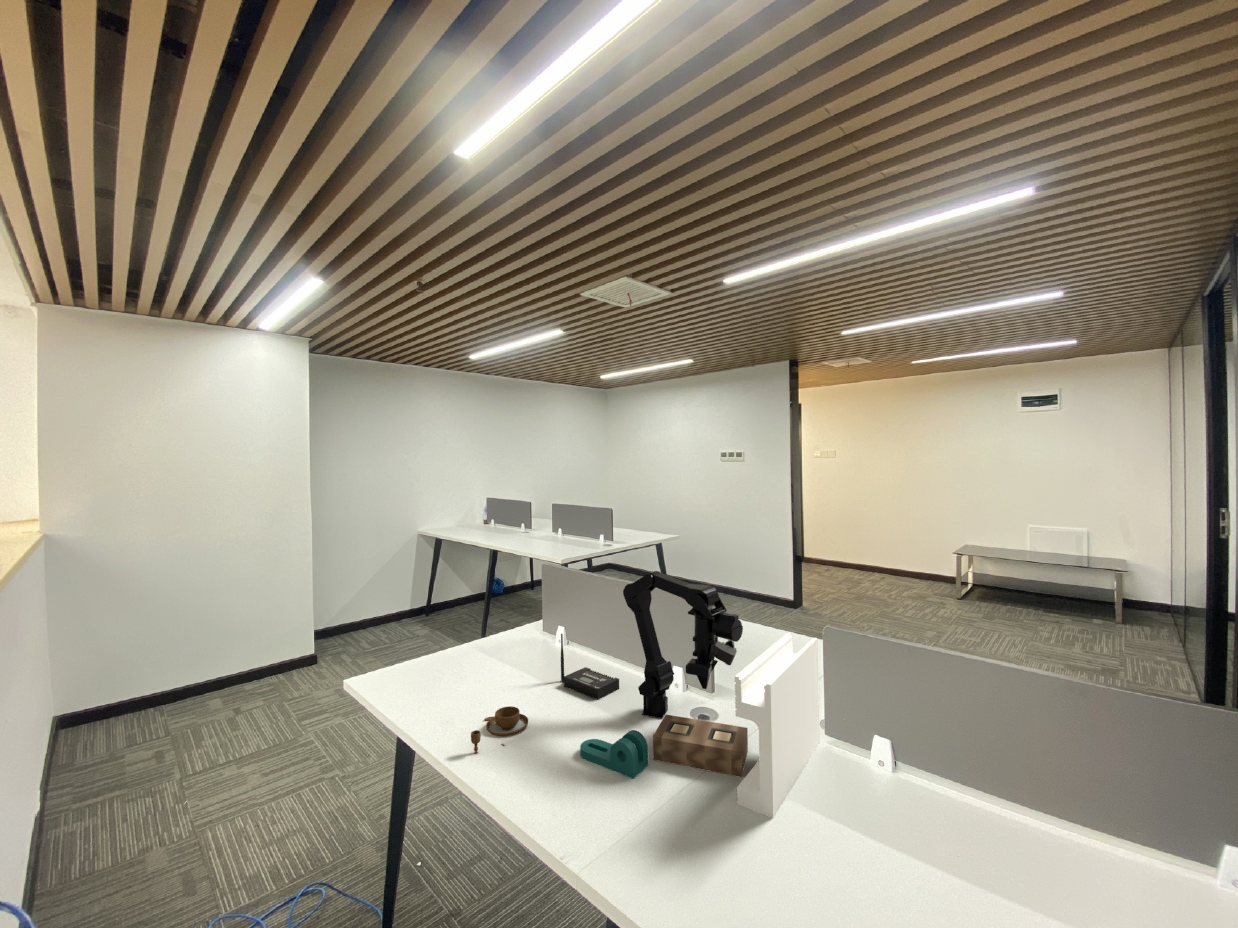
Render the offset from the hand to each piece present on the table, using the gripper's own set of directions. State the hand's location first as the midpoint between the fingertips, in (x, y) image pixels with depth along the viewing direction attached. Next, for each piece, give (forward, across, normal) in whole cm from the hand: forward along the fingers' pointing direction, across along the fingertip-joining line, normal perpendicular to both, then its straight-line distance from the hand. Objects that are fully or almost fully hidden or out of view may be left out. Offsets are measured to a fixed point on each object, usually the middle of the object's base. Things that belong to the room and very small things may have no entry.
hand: (704, 688), depth 142 cm
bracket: (+13, -22, +19) cm, 32 cm away
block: (+12, -11, -22) cm, 27 cm away
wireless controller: (+14, +16, +44) cm, 49 cm away
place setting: (+14, -20, +56) cm, 61 cm away
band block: (+12, -11, -2) cm, 17 cm away
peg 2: (+12, -11, -7) cm, 18 cm away
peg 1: (+12, -12, +4) cm, 17 cm away
